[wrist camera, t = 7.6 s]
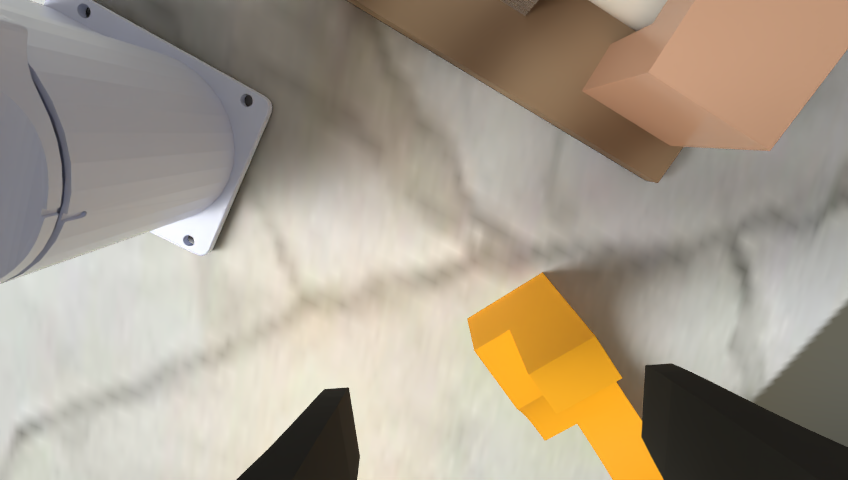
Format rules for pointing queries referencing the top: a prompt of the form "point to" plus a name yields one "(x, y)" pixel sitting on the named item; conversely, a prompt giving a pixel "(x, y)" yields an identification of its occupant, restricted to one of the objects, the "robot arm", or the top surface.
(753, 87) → the socket
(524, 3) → the channel
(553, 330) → the orange piece
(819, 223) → the top surface
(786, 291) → the top surface
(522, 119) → the top surface
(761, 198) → the top surface
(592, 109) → the board
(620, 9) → the bolt
